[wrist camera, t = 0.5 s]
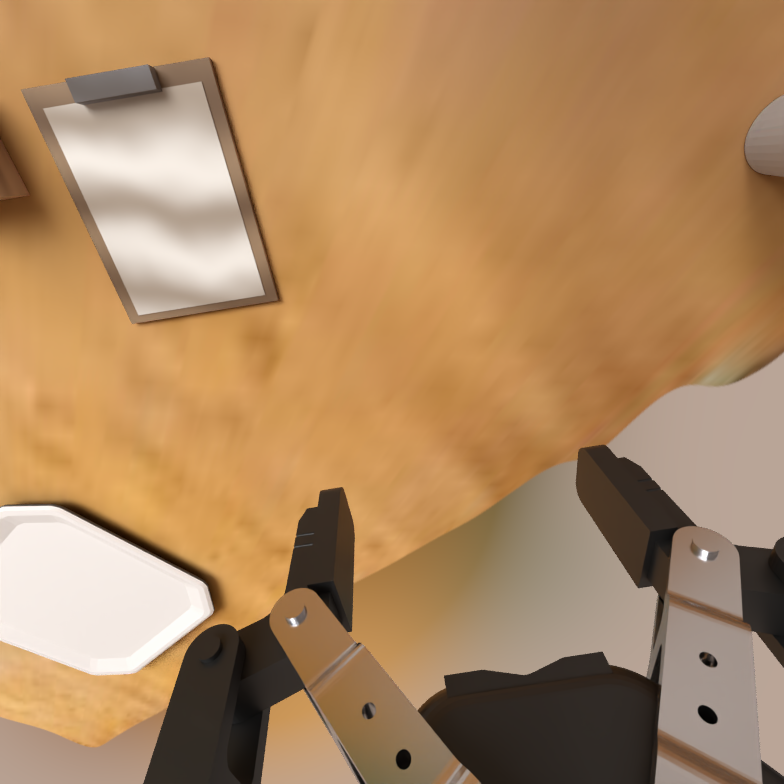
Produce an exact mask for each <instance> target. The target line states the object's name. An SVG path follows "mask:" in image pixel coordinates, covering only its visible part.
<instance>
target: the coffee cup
mask: <svg viewBox="0 0 784 784" xmlns="http://www.w3.org/2000/svg"><path fill="white" fill-rule="evenodd" d="M745 156H746V160H747V162H748V164H749V165H750V166H751V168H752V169H753V170H755V171H756V172H758V173H761V174H766V175H773V176H781V177H784V95H782V96H780V97H778V98H777V99H776V100H774V101H773V102H771V103H770V104H769V105H768V106H767V107H766V108H765V109H764V110H763V111H762V112H761V113H760V114H759V115H758V117H757V118H756V119H755V121H754V122H753V124H752V126H751V127H750V129H749V131H748V134H747V137H746V141H745Z"/></svg>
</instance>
